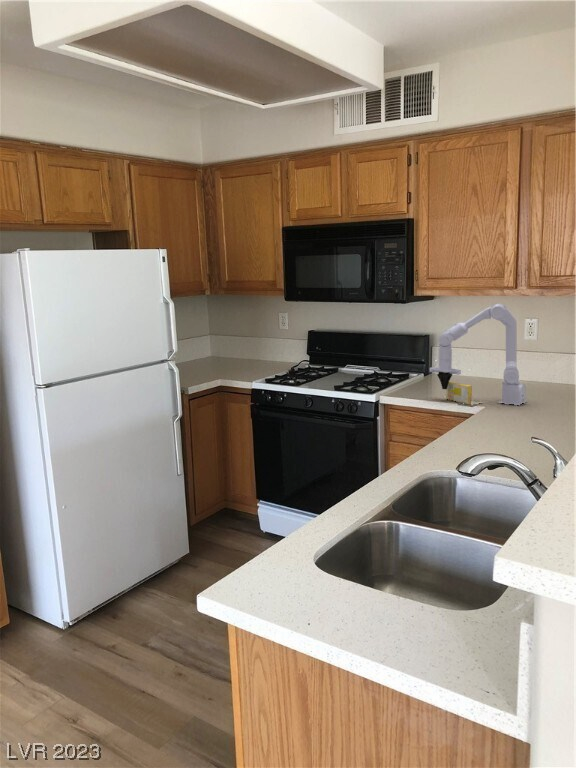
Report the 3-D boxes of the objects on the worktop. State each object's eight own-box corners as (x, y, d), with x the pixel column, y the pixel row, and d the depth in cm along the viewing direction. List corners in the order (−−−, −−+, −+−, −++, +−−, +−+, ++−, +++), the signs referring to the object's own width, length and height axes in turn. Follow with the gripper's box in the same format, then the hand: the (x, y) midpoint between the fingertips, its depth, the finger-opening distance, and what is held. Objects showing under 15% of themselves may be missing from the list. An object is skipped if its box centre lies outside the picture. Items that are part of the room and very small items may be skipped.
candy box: (472, 404, 268) (472, 385, 267) (468, 405, 267) (468, 386, 266) (449, 399, 283) (449, 381, 281) (445, 399, 282) (445, 381, 281)
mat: (482, 402, 273) (482, 402, 272) (472, 406, 265) (472, 406, 265) (468, 401, 277) (468, 400, 277) (457, 404, 270) (457, 404, 270)
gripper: (464, 359, 274) (463, 389, 277) (435, 357, 284) (434, 385, 286) (456, 361, 269) (456, 391, 272) (427, 359, 279) (427, 388, 281)
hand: (444, 388), depth 279 cm, fingers closed
